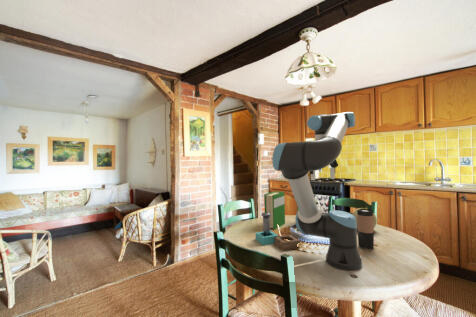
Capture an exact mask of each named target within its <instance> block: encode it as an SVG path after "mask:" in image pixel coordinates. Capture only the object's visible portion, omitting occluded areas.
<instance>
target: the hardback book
mask: <svg viewBox="0 0 476 317" xmlns="http://www.w3.org/2000/svg"><path fill="white" fill-rule="evenodd" d="M263 199H264V200H263V201H264V202H263V203H264V212H268V213H271V216H270V229H273V230H274V231H275V230H277V229H278V228H277V224H278V225H279V228H281V227H282V226H283V225H285V224H286V209H285V208H286V205H285V204H286V203H285V191H280V190H279V191H278V190H275V191H272V192H268V193H264V196H263ZM273 230H272V231H273Z"/></svg>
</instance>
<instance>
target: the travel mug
mask: <svg viewBox="0 0 476 317" xmlns="http://www.w3.org/2000/svg"><path fill="white" fill-rule="evenodd" d="M358 209H359V208H358ZM373 213H374V210H372V209H369V208H367V209H366V208H364V209H359V210H357V223H358V228H357V245H358V247H359V248H361V249H364V250H373V249H374V248H375V246H374V245H375V244H374V243H375V242H374V241H375V238H374V237H375V234H374V233H375V232H374V231H375V230H374V229H375V227H374V225H373Z"/></svg>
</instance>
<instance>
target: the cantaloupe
mask: <svg viewBox="0 0 476 317" xmlns="http://www.w3.org/2000/svg"><path fill="white" fill-rule="evenodd" d="M359 209H368V207H365V208H364V207H359V208H356V209H355V210H354V211H353V212H352V213H351V214H352V215H353V216H354V217H355V218H356V225H357V229H358V223H357V210H359ZM377 221H378V220H377V216H376V213H374V212H373V225H374V228H375V227H376V226H377Z"/></svg>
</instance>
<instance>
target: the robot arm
mask: <svg viewBox="0 0 476 317" xmlns="http://www.w3.org/2000/svg"><path fill="white" fill-rule="evenodd" d="M306 125H307V127H308V129H310V130H311V131H314V140H307V141H293V142H287V141H286V142H281V143H277V144H276V146H275V147H274V149H273V152H272V160H271V161H272V167H273V169H274V171H277V172H281V174H282V177H283V178H284V179H286V180H287V181H288V184H289V187H290V189H291V192H292V194H293V197H294V201H295V203H296V205H297V206H298V209H299V211H298V212H297V211H296V214H295V226H296V229H297V231H298V232H299V233H301V234H303V235H307V236H315V237H319V238H320V237H321V238H327V239H329V245H328V249H327V253H326V255H325V261H326V263H327V264H328V265H329V266H331V267H333V268H336V269H339V270H344V271H357V270H360V269H361V268H362V266H363V260H362V257H361V255H360V253H359V249H358V228H357V225H356V218H355V217H354V216H353V215H352V213H349V212H347V211H344V210H335V209H333V210H332V209H331V210H329V211H328V212H323V210H322V209H321V207H320V206H319V205H316V204H317V202H316V198H315V195H314V191H313V188H312V185H311V181H316V171H320V170H322V169H324V168H326V167H328V166H330V167H329V174H330V176H329V177H330V178H329V179H331V180H335V179H336V177H335V175H336V168H337V167H339V163H338V161H337V159H338V157H339V156H340V154H341V152H342V148H343V146H342V142H343V140H344V138H345V136H346V132H347V130H348V129H350V128H354V127H355V125H356V115H355V113H354V112H353V111H346V112H340V113H333V114H318V115H317V114H316V115H311V116H309V117H308V119H307V122H306ZM308 174H309V175H310V178H309V175H308ZM310 180H311V181H310Z"/></svg>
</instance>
